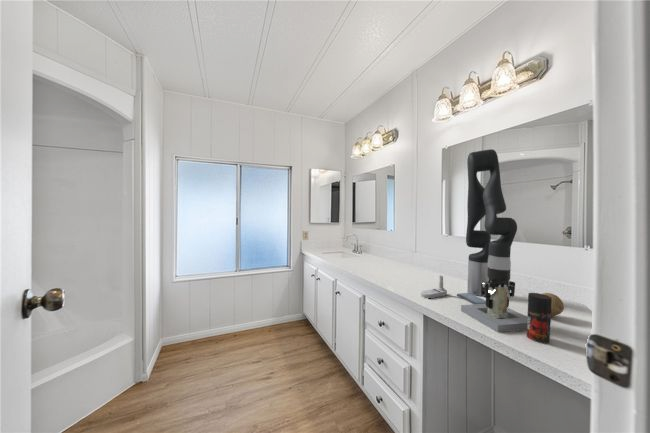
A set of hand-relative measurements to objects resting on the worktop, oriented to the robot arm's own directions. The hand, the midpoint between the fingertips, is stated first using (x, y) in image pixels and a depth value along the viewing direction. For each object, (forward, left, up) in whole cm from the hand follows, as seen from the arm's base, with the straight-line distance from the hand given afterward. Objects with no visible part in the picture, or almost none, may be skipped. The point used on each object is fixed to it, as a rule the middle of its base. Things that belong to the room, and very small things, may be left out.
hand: (497, 307), depth 97 cm
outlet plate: (0, 0, -5) cm, 5 cm away
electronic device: (+9, -27, -5) cm, 30 cm away
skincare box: (0, 0, -4) cm, 4 cm away
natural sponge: (-23, +2, -5) cm, 24 cm away
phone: (-6, -19, -5) cm, 20 cm away
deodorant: (-1, +15, -5) cm, 16 cm away
